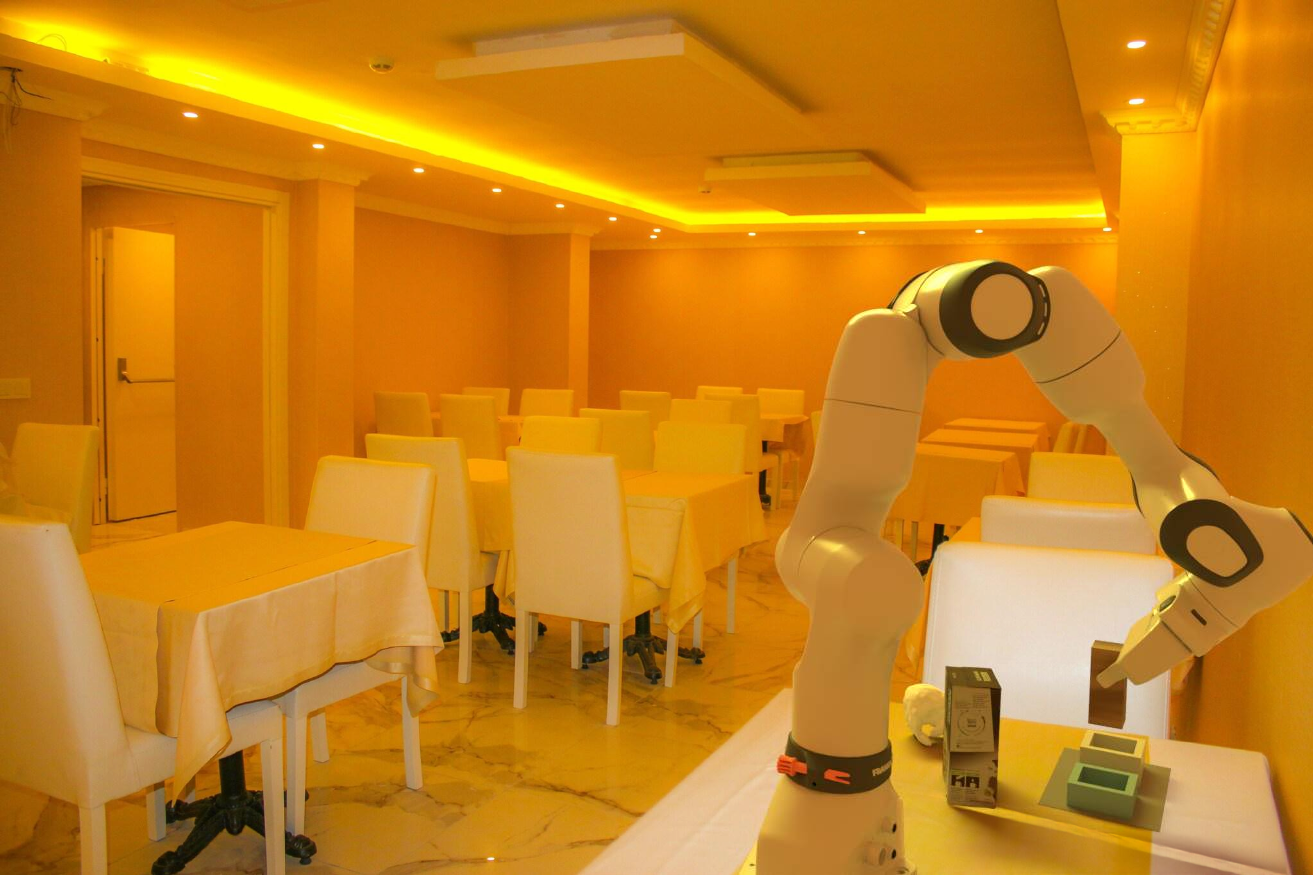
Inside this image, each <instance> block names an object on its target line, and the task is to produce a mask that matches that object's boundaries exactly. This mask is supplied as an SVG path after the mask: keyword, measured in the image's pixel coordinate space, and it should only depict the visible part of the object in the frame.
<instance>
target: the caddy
mask: <svg viewBox="0 0 1313 875" xmlns="http://www.w3.org/2000/svg"><path fill="white" fill-rule="evenodd" d="M1146 742H1147V739H1143V738H1137V737H1131V736H1125V735H1121V734H1116V733H1109V732H1105V731H1100V730H1095V729H1094V730H1093V729H1088V728H1087V730H1086V732H1085V734H1084V736H1083V739H1082V741H1081V743H1080V746H1079V749H1075V748H1071V747H1070V748H1069V747H1064V748H1063V749H1062V752H1061V754H1060V756H1059V758H1058V761H1057V763H1056V765H1055V767H1054V769H1053V772H1052V774H1051V775H1050V777H1049V780H1048V781H1047V784H1046V786H1045V787H1044V790H1043V792H1042V794H1041V797H1040V799H1039V801H1038V803H1037V805H1039V806H1044V807H1048V808H1052V809H1056V810H1057V809H1058V810H1061V811H1065V812H1070V813H1075V814H1077V815H1083V816H1088V817H1091V818H1095V819H1096V818H1097V819H1100V820H1106V821H1109V822H1114V823H1118V824H1122V825H1127V826H1131V827H1137V828H1140V829H1145V830H1149V831H1153V832H1158V833H1160V829H1161V825H1162V820H1163V819H1162V817H1163V813H1164V807H1165V802H1166V797H1167V791H1168V785H1169V780H1170V774H1171V767H1165V766H1160V765H1158V764H1157V765H1155V764H1151V763H1145V762H1146V746H1147V745H1146Z"/></svg>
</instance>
